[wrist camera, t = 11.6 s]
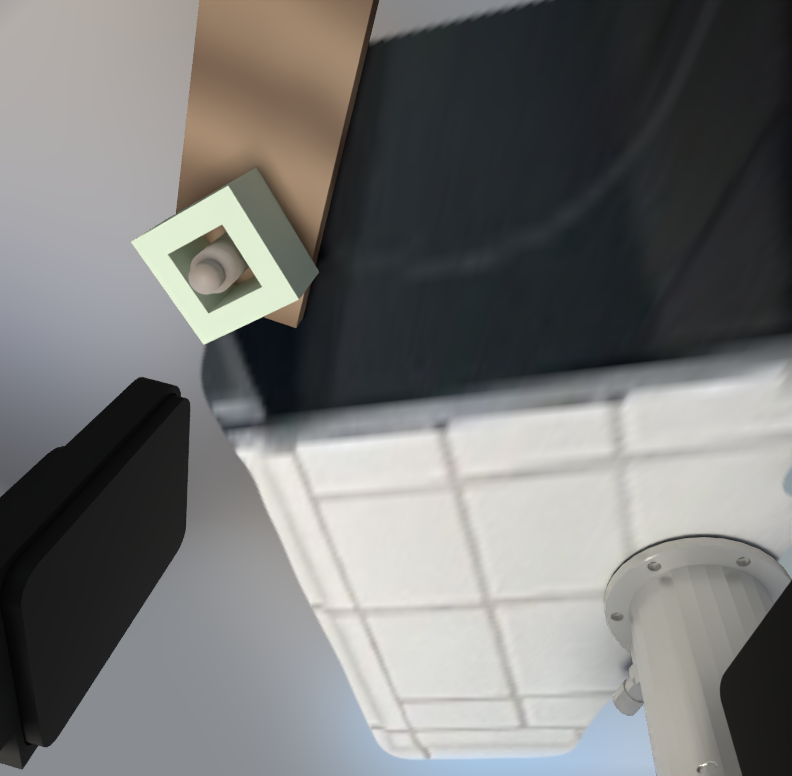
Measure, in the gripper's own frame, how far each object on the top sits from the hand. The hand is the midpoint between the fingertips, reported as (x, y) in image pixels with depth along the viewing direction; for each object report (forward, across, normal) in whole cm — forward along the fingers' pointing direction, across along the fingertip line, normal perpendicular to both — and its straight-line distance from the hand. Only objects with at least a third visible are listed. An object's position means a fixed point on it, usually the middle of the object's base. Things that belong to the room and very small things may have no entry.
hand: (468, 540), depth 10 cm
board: (+28, +13, 0) cm, 31 cm away
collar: (+27, +13, +7) cm, 31 cm away
